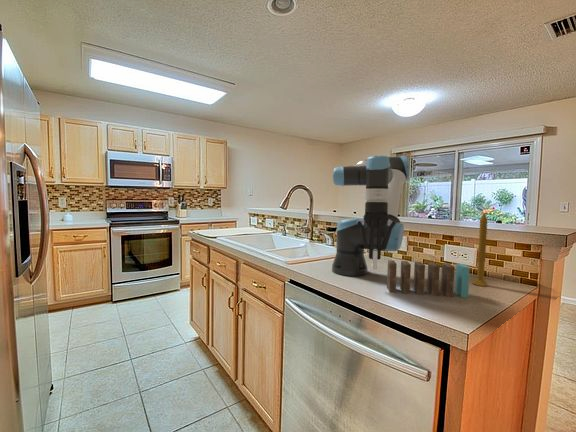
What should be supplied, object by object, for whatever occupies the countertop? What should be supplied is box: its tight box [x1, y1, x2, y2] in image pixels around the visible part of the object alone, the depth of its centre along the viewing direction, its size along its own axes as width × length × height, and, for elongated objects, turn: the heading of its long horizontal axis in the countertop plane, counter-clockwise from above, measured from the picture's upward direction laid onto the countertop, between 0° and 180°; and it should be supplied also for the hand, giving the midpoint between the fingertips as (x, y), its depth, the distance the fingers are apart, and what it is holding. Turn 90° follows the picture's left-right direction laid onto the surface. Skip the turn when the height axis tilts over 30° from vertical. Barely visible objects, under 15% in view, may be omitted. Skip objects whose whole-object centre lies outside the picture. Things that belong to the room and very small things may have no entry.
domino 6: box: [454, 263, 470, 298], centre depth 95 cm, size 2×5×10 cm, turn 170°
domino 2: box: [399, 260, 412, 295], centre depth 98 cm, size 2×5×10 cm, turn 170°
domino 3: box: [412, 261, 426, 296], centre depth 97 cm, size 2×5×10 cm, turn 170°
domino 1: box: [386, 259, 398, 294], centre depth 99 cm, size 2×5×10 cm, turn 170°
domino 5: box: [440, 262, 455, 297], centre depth 96 cm, size 2×5×10 cm, turn 170°
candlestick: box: [471, 212, 489, 287], centre depth 106 cm, size 27×5×5 cm
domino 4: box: [426, 261, 441, 297], centre depth 97 cm, size 2×5×10 cm, turn 170°
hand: (374, 268), depth 100 cm, fingers closed
